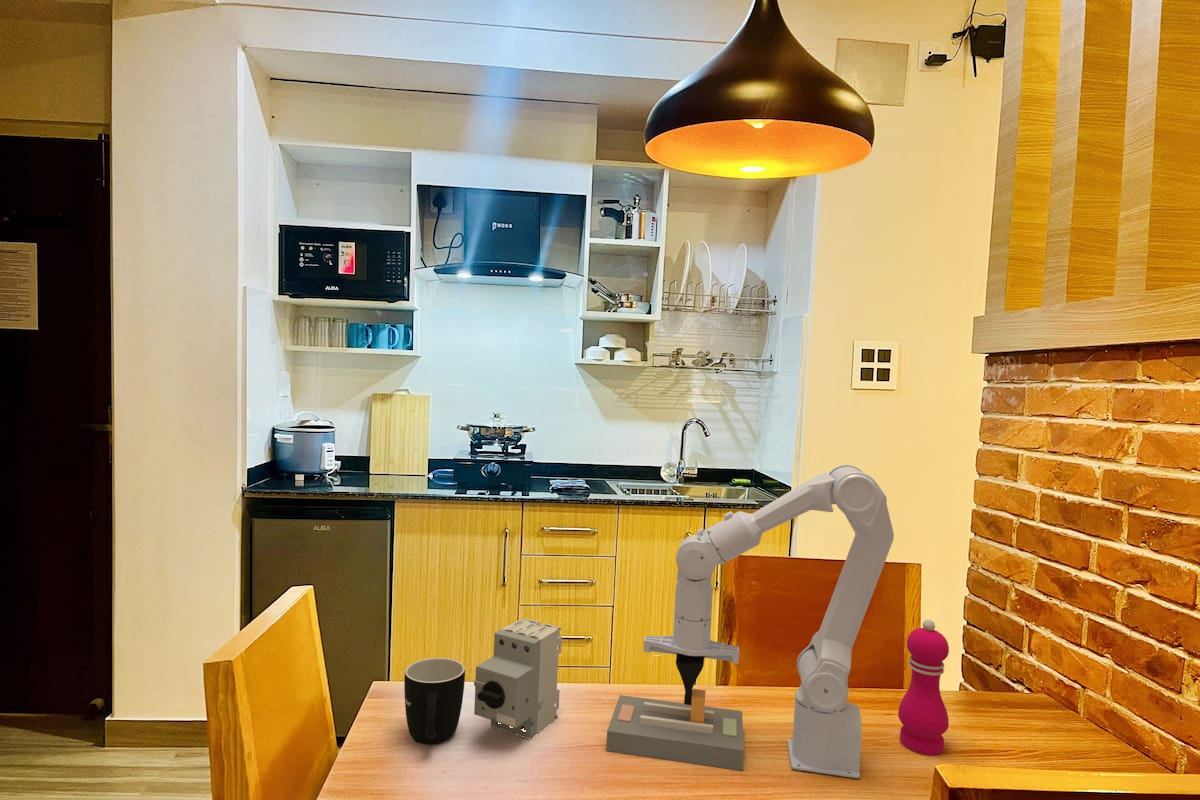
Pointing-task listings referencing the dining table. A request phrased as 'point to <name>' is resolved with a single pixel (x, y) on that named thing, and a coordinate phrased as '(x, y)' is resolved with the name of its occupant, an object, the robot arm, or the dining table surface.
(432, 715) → the mug
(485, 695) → the circuit breaker
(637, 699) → the slider control box
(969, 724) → the dining table surface
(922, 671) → the pepper mill
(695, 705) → the breaker lever
